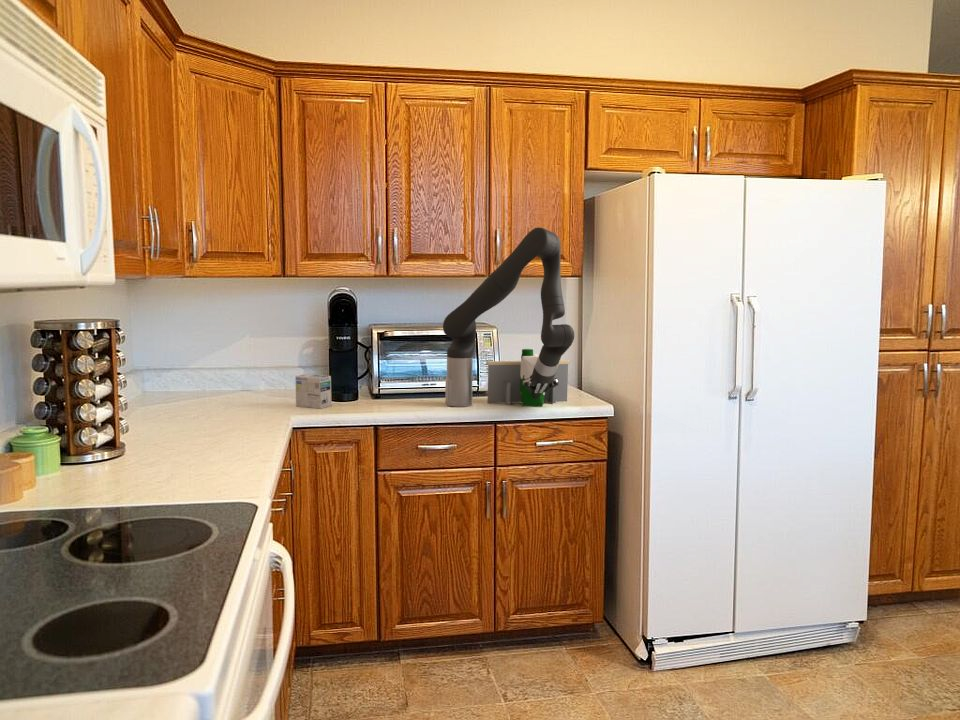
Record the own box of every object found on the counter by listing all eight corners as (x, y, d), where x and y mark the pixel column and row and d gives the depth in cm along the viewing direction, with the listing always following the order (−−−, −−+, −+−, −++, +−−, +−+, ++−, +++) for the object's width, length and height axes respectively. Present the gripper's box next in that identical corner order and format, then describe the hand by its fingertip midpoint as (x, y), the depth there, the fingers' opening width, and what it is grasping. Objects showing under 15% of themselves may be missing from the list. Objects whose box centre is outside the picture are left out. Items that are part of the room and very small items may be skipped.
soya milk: (519, 402, 268) (520, 348, 265) (543, 402, 268) (545, 348, 265) (520, 406, 259) (521, 350, 256) (545, 407, 259) (547, 351, 256)
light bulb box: (332, 405, 256) (331, 375, 255) (321, 409, 250) (320, 378, 248) (306, 403, 260) (306, 373, 259) (295, 406, 254) (294, 375, 252)
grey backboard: (489, 405, 261) (490, 363, 259) (485, 401, 267) (486, 361, 265) (572, 403, 267) (573, 362, 265) (566, 399, 274) (567, 360, 272)
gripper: (562, 357, 249) (551, 387, 262) (525, 358, 246) (515, 388, 260) (567, 375, 244) (555, 404, 258) (529, 376, 242) (519, 405, 255)
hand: (535, 396), depth 259 cm, fingers closed
